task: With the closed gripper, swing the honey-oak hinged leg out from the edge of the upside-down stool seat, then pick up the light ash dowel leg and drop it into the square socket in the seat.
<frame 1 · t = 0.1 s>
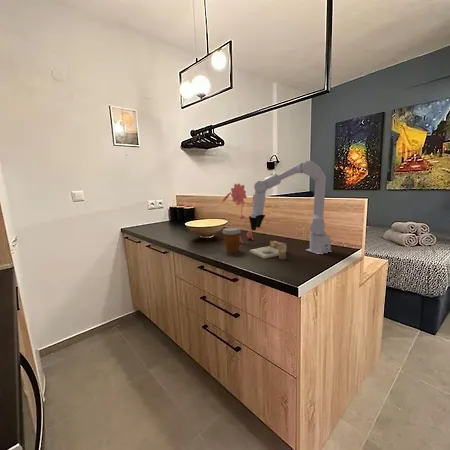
hand: (255, 228, 136), 10 cm above the counter, tool pointing down, fingers open, 7 cm apart
disposable coffee cup: (232, 251, 134), on the counter
loose leg: (282, 258, 117), on the counter
hinged leg: (277, 245, 130), point 2 cm above the counter, hinge at 0.0°
figurine: (240, 240, 156), on the counter
stool seat: (266, 253, 126), on the counter
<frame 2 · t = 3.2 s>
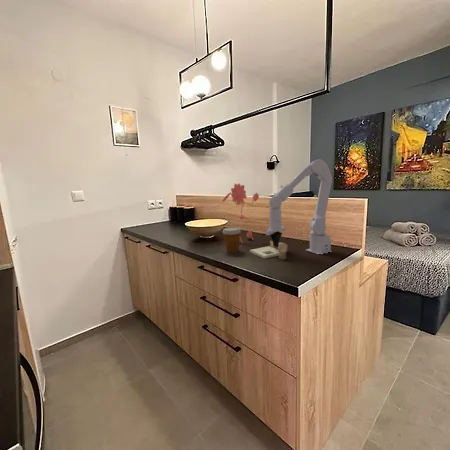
hand: (275, 246, 129), 2 cm above the counter, tool pointing down, fingers closed, pressing on hinged leg
hinged leg: (277, 245, 130), point 2 cm above the counter, hinge at 3.5°, touching gripper
everything else where it was.
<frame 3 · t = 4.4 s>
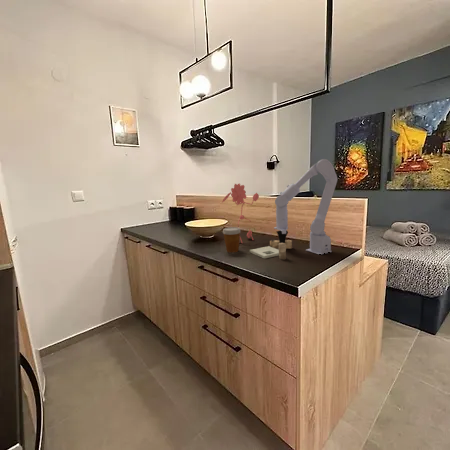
hand: (282, 244, 131), 2 cm above the counter, tool pointing down, fingers closed, pressing on hinged leg
hinged leg: (280, 244, 133), point 2 cm above the counter, hinge at 53.4°, touching gripper
everything else where it was.
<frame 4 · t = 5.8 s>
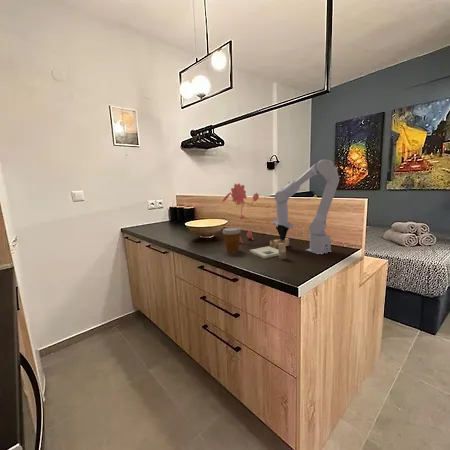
hand: (282, 239, 134), 4 cm above the counter, tool pointing down, fingers closed
hinged leg: (279, 242, 136), point 2 cm above the counter, hinge at 87.5°
everything else where it was.
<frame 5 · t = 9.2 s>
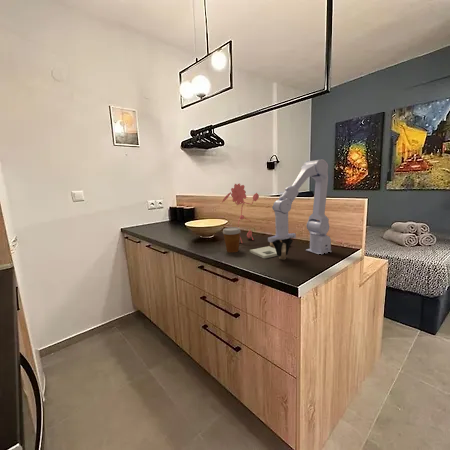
hand: (282, 254, 117), 2 cm above the counter, tool pointing down, fingers closed on loose leg, 3 cm apart
loose leg: (282, 258, 117), on the counter, touching gripper
everything else where it was.
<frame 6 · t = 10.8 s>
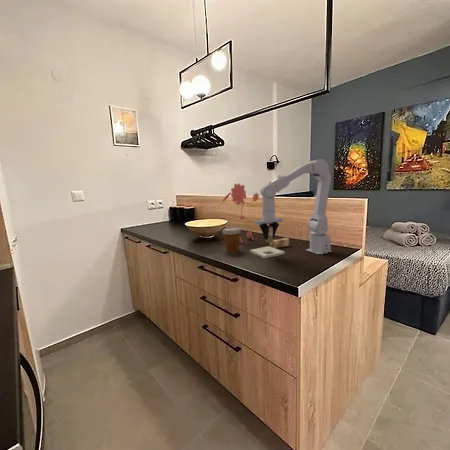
hand: (269, 238, 121), 8 cm above the counter, tool pointing down, fingers closed on loose leg, 3 cm apart
loose leg: (269, 241, 122), point 7 cm above the counter, touching gripper
everything else where it was.
when the fingers open (3 cm above the counter, at t = 12.3 s): loose leg stays where it is, resting in stool seat.
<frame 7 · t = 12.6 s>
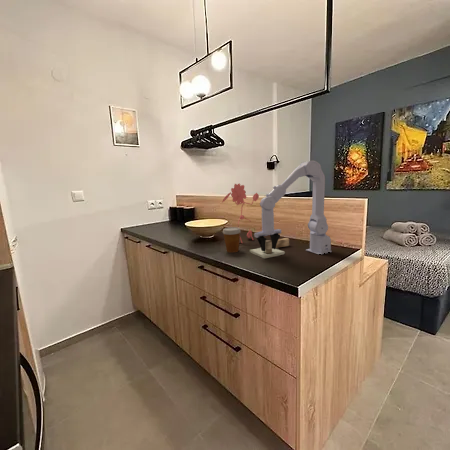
hand: (268, 249, 123), 3 cm above the counter, tool pointing down, fingers open, 6 cm apart
loose leg: (268, 254, 123), resting in stool seat
everything else where it was.
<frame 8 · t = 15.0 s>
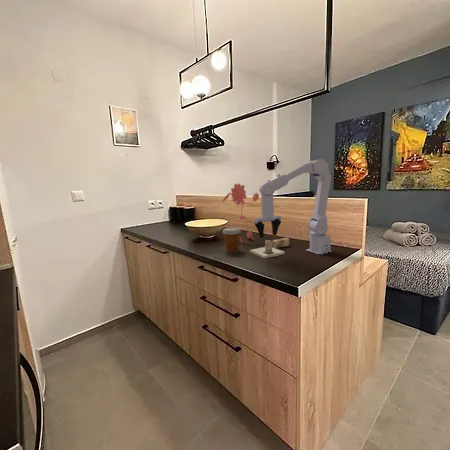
hand: (268, 236, 122), 9 cm above the counter, tool pointing down, fingers open, 7 cm apart
nothing on the counter moved.
at the end: hinged leg at +88° (first picture: +0°); loose leg 0.0 cm from the target spot on the stool seat, point 0.0 cm above the stool seat's base; loose leg tilted 1° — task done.
